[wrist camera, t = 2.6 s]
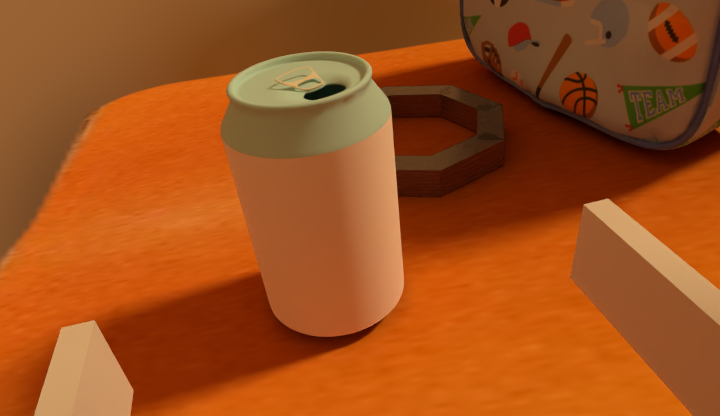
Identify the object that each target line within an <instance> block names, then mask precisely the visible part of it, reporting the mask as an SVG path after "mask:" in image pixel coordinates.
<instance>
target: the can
mask: <svg viewBox="0 0 720 416" xmlns="http://www.w3.org/2000/svg"><path fill="white" fill-rule="evenodd" d="M226 92H227V96H228V98H229V99H230V103H229V105H228V108H227V111H226V113H225V116H224V118H223V121H222V124H221V137H222V140H223V144H224V147H225V151H226V154H227V158H228V161H229V165H230V168H231V172H232V175H233V179H234V182H235V185H236V189H237V192H238V196H239V199H240V203H241V206H242V210H243V213H244V217H245V220H246V224H247V227H248V231H249V234H250V238H251V241H252V245H253V248H254V252H255V255H256V259H257V262H258V266H259V269H260V273H261V276H262V280H263V283H264V287H265V290H266V294H267V297H268V301H269V304H270V307H271V310H272V311H273V313H274V315H275V316H276V317H277V319H278V320H279V321H280V322H282V323H283V324H284V325H286V326H287V327H289V328H290V329H293V330H295V331H297V332H300V333H303V334H307V335H312V336H320V337H333V336H342V335H347V334H351V333H355V332H358V331H361V330H363V329H366V328H368V327H370V326H372V325H374V324H375V323H377V322H379V321H380V320H381V319H383V318H384V317H385V316H386V315H388V314H389V313H390V312H391V311H392V309H393V308H394V307H395V306H396V304H397V303H398V301H399V299H400V297H401V295H402V292H403V287H404V274H403V261H402V247H401V234H400V221H399V207H398V194H397V180H396V167H395V153H394V140H393V127H392V113H391V105H390V102H389V100H388V98H387V96H386V95H385V94H384V93H383V92H382V90H381V89H380V88H379V87H378V86H377V84H376V83H375V82H374V81H373V80H372V68H371V66H370V64H369V63H368V62H366V61H365V60H364V59H362V58H360V57H357V56H355V55H351V54H347V53H340V52H306V53H299V54H292V55H286V56H282V57H277V58H274V59H270V60H267V61H264V62H261V63H258V64H256V65H253V66H251V67H249V68H247V69H245V70H244V71H242V72H240V73H239V74H237V75H236V76H235V77H234V78H233V79H232V80H231V81H230V83H229V84H228V86H227V89H226Z"/></svg>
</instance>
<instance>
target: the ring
mask: <svg viewBox="0 0 720 416" xmlns="http://www.w3.org/2000/svg"><path fill="white" fill-rule="evenodd" d="M380 89H381V90H382V92H383V93H384V94H385V95H386V96H387V98H388V100H389V102H390V105H391V113H392V117H443V118H445V119H447V120H450V121H452V122H454V123H456V124H458V125H461V126H463V127H465V128H467V129H470V130H472V131H474V132H476V133H477V135H476V136H473V137H471V138H469V139H467V140H465V141H463V142H460V143H458V144H456V145H454V146H452V147H449V148H447V149H445V150H443V151H441V152H438V153H436V154H434V155H432V156H395V167H396V180H397V194H398V196H429V197H442V196H444V195H446V194H448V193H450V192H452V191H454V190H456V189H458V188H460V187H462V186H464V185H466V184H467V183H469V182H471V181H473V180H475V179H477V178H479V177H481V176H483V175H485V174H487V173H489V172H491V171H493V170H495V169H497V168H499V167H501V166H503V158H504V142H505V137H504V123H503V109H502V104H500V103H497V102H494V101H492V100H489V99H486V98H484V97H481V96H479V95H476V94H473V93H471V92H468V91H465V90H463V89H460V88H457V87H455V86H452V85H437V86H397V87H383V88H380Z"/></svg>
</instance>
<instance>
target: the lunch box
mask: <svg viewBox="0 0 720 416" xmlns="http://www.w3.org/2000/svg"><path fill="white" fill-rule="evenodd" d="M460 17H461V26H462V31H463V36H464V39H465V42H466V44H467V47H468V48H469V50H470V52H471V53H472V55H473V56H474V57H475V58H476V59H477V61H479V62H480V63H481V64H482V65H483V66H484V67H486V68H487V69H489V70H490V71H492V72H493V73H494V74H496V75H497V76H498V77H500V78H501V79H503V80H504V81H506V82H508V83H509V84H511V85H512V86H514V87H515V88H517V89H519V90H520V91H522V92H523V93H525V94H526V95H528V96H529V97H531V98H532V99H533V101H534V102H536V103H537V104H539V105H540V106H542V107H545V108H549V109H552V110H555V111H558V112H560V113H563V114H565V115H568V116H570V117H572V118H575V119H577V120H579V121H581V122H583V123H585V124H587V125H589V126H592V127H594V128H596V129H598V130H600V131H602V132H604V133H606V134H608V135H610V136H612V137H614V138H617V139H620V140H622V141H625V142H627V143H630V144H633V145H636V146H639V147H643V148H648V149H656V150H671V149H676V148H679V147H682V146H685V145H688V144H690V143H692V142H694V141H695V140H697V139H699V138H701V137H703V136H704V135H706V134H708V133H709V132H711V131H713V130H714V129H716V128H718V127H719V126H720V0H460Z"/></svg>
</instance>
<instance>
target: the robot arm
mask: <svg viewBox="0 0 720 416" xmlns="http://www.w3.org/2000/svg"><path fill="white" fill-rule="evenodd" d="M570 278H571V279H572V280H573V281H574V282H575V283H576V285H577V286H578V287H579V288H580V289H581V290H582V291H583V292H584V294H585V295H586V296H587V297H588V298H589V299H590V300H591V301H592V303H593V304H594V305H595V306H596V307H597V308H598V309H599V310H600V312H601V313H602V314H603V315H604V316H605V317H606V318H607V319H608V321H609V322H610V323H611V324H612V325H613V326H614V327H615V328H616V330H617V331H618V332H619V333H620V334H621V335H622V336H623V337H624V338H625V340H626V341H627V342H628V343H629V344H630V345H631V346H632V347H633V349H634V350H635V351H636V352H637V353H638V354H639V355H640V356H641V358H642V359H643V360H644V361H645V362H646V363H647V364H648V365H649V367H650V368H651V369H652V370H653V371H654V372H655V373H656V374H657V376H658V377H659V378H660V379H661V380H662V381H663V382H664V383H665V385H666V386H667V387H668V388H669V389H670V390H671V391H672V392H673V394H674V395H675V396H676V397H677V398H678V399H679V400H680V401H681V402H682V404H683V405H684V406H685V407H686V408H687V409H688V410H689V411H690V413H691V414H692V415H693V416H720V290H719V289H718V288H716V287H715V286H714V285H713V284H712V283H710V282H709V281H708V280H707V279H705V278H704V277H703V276H702V275H701V274H699V273H698V272H697V271H696V270H695V269H693V268H692V267H691V266H690V265H688V264H687V263H686V262H685V261H684V260H682V259H681V258H680V257H679V256H677V255H676V254H675V253H674V252H673V251H671V250H670V249H669V248H668V247H667V246H665V245H664V244H663V243H662V242H660V241H659V240H658V239H657V238H656V237H654V236H653V235H652V234H651V233H649V232H648V231H647V230H646V229H645V228H643V227H642V226H641V225H640V224H638V223H637V222H636V221H635V220H634V219H632V218H631V217H630V216H629V215H628V214H626V213H625V212H624V211H623V210H621V209H620V208H619V207H618V206H617V205H615V204H614V203H613V202H612V201H610V200H609V199H604V200H600V201H596V202H591V203H587V204H584V205H583V210H582V216H581V221H580V227H579V232H578V238H577V243H576V249H575V255H574V260H573V266H572V271H571V277H570ZM133 392H134V390H133V388H132V387H131V385H130V383H129V381H128V379H127V378H126V376H125V374H124V372H123V370H122V369H121V367H120V365H119V363H118V361H117V360H116V358H115V356H114V354H113V352H112V351H111V349H110V347H109V345H108V343H107V342H106V340H105V338H104V336H103V334H102V333H101V331H100V329H99V327H98V325H97V324H96V322H95V320H93V321H89V322H85V323H80V324H76V325H72V326H68V327H64V328H61V331H60V334H59V337H58V340H57V343H56V347H55V350H54V353H53V356H52V359H51V363H50V366H49V369H48V372H47V375H46V378H45V382H44V385H43V388H42V391H41V394H40V398H39V401H38V404H37V407H36V410H35V413H34V416H130V414H131V406H132V399H133Z"/></svg>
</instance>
